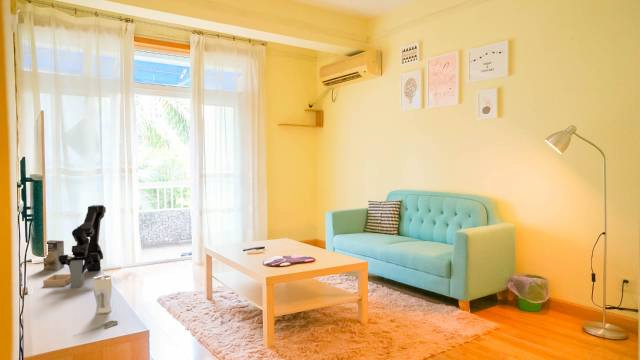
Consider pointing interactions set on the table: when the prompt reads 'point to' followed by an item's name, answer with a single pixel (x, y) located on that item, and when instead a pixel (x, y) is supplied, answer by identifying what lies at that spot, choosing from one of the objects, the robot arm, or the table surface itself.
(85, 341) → the table surface
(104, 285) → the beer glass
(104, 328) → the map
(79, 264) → the slate block
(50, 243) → the coffee box
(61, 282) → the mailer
